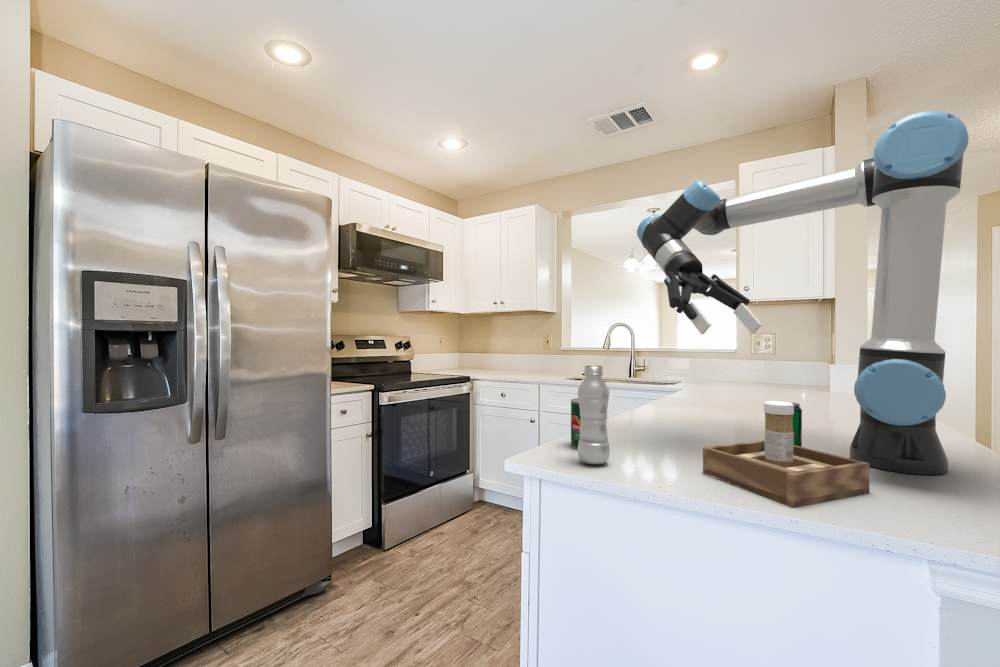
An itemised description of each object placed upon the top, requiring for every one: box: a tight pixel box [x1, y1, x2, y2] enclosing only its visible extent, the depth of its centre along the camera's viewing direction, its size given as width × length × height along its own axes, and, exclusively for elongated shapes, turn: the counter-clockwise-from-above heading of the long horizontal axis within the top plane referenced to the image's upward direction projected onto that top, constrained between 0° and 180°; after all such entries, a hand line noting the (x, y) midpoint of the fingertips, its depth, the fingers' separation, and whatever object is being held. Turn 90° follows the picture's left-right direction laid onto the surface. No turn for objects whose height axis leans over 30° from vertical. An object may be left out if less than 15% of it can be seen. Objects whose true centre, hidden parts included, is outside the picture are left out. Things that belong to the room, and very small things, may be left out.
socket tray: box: [702, 439, 870, 508], centre depth 81 cm, size 18×18×5 cm
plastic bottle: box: [577, 365, 611, 465], centre depth 93 cm, size 6×7×20 cm
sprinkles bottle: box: [763, 400, 794, 468], centre depth 81 cm, size 5×5×14 cm
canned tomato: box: [570, 397, 581, 450], centre depth 106 cm, size 8×8×11 cm
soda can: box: [788, 401, 803, 447], centre depth 96 cm, size 5×5×12 cm
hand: (732, 329), depth 91 cm, fingers open, 13 cm apart
